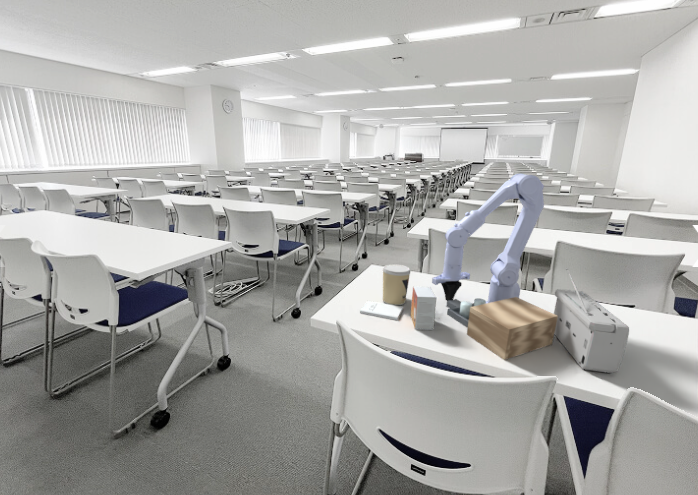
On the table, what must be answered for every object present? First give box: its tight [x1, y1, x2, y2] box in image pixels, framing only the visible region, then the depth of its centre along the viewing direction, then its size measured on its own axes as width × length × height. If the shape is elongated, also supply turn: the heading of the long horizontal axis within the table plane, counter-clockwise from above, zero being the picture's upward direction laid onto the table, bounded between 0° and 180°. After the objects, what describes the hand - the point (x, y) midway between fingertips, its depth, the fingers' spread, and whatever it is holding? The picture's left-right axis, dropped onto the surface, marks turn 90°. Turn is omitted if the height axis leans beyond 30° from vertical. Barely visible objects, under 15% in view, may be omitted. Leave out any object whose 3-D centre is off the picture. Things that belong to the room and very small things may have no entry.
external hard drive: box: [359, 300, 404, 321], centre depth 107 cm, size 2×8×12 cm
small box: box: [410, 285, 437, 331], centre depth 98 cm, size 8×6×10 cm
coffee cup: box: [382, 263, 411, 306], centre depth 112 cm, size 9×9×12 cm
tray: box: [446, 298, 487, 328], centre depth 105 cm, size 12×14×5 cm
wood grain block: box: [466, 297, 558, 361], centre depth 90 cm, size 18×13×9 cm
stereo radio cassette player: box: [553, 267, 630, 374], centre depth 84 cm, size 21×8×20 cm, turn 170°
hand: (448, 300), depth 113 cm, fingers closed, pressing on tray
